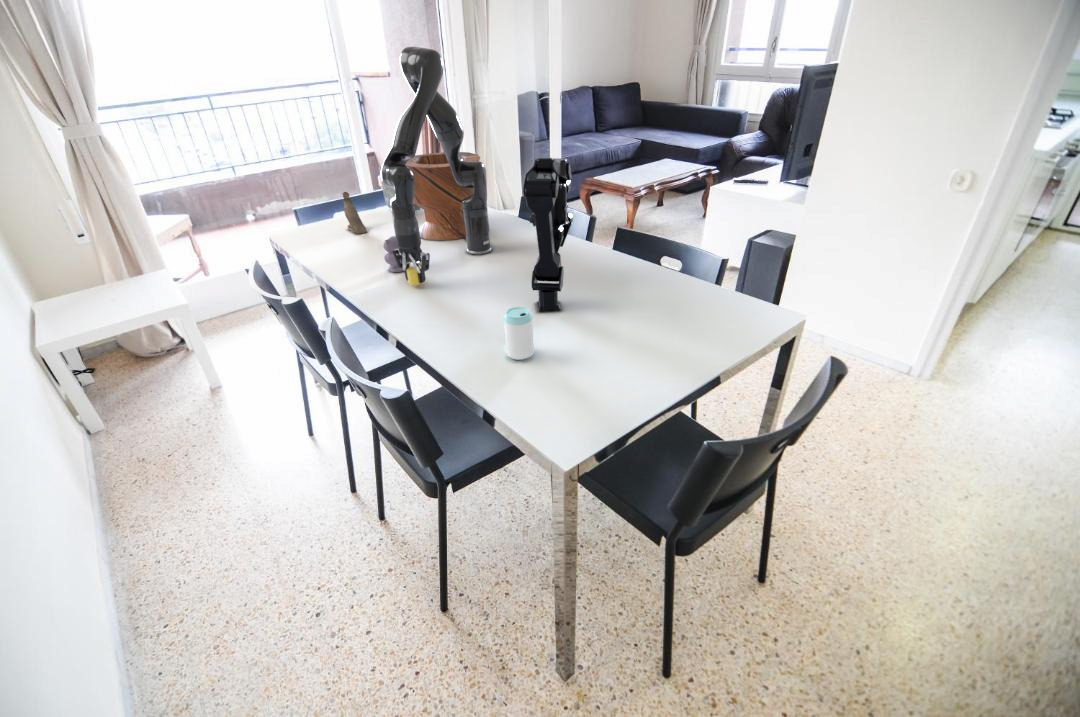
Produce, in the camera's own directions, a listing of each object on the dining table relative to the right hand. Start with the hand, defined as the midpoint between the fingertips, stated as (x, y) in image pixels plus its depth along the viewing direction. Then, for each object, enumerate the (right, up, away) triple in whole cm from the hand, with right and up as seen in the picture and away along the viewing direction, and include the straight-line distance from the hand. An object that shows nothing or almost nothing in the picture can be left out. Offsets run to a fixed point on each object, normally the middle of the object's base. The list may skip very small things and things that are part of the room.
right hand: (558, 251), depth 160 cm
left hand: (-47, -9, +6) cm, 48 cm away
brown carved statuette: (-88, +23, +64) cm, 111 cm away
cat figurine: (-57, -2, +21) cm, 61 cm away
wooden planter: (-46, +23, +60) cm, 79 cm away
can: (-11, -34, -33) cm, 49 cm away
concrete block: (-75, +40, +90) cm, 124 cm away
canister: (-47, -9, +6) cm, 48 cm away
